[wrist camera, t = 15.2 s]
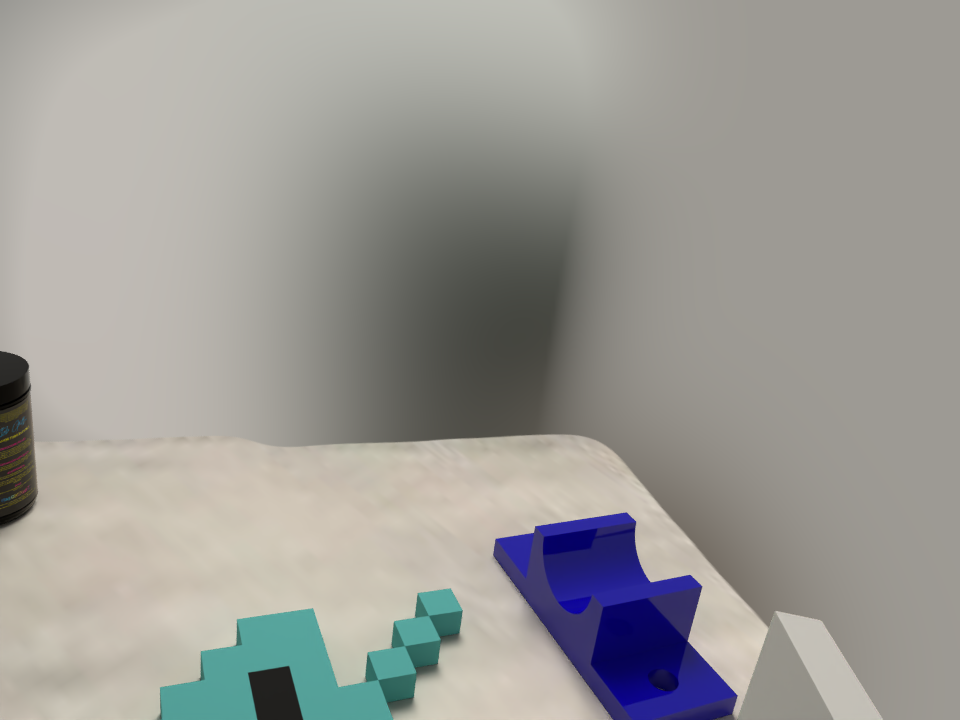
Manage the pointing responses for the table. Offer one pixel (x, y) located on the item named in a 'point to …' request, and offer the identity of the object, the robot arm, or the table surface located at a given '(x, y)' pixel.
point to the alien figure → (309, 669)
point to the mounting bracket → (616, 619)
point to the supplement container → (16, 439)
